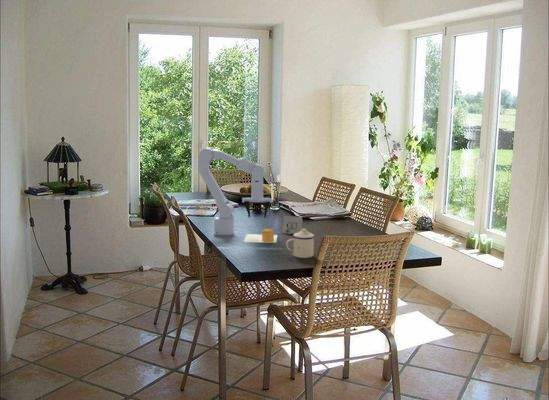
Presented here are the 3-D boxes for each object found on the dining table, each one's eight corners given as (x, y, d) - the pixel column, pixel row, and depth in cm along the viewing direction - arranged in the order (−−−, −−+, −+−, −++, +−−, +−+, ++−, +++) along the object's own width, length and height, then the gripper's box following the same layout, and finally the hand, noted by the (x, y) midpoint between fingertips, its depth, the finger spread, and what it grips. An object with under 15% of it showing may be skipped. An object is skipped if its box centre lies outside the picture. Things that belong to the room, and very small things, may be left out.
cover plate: (243, 244, 275) (243, 235, 275) (246, 236, 291) (246, 228, 290) (276, 244, 275) (276, 236, 274) (277, 236, 290) (277, 228, 290)
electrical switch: (282, 235, 294) (282, 216, 293) (284, 233, 299) (284, 215, 299) (301, 236, 292) (301, 217, 292) (302, 235, 297) (303, 216, 297)
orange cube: (261, 241, 276) (262, 231, 275) (262, 239, 281) (262, 228, 280) (273, 241, 276) (273, 231, 275) (273, 239, 281) (273, 228, 280)
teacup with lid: (312, 252, 261) (312, 226, 259) (315, 258, 252) (316, 231, 251) (284, 253, 260) (285, 226, 258) (287, 258, 251) (287, 231, 249)
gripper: (241, 190, 284) (241, 218, 286) (272, 190, 284) (271, 219, 286) (242, 188, 291) (242, 215, 293) (272, 188, 291) (272, 216, 293)
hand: (257, 217), depth 290 cm, fingers open, 7 cm apart
